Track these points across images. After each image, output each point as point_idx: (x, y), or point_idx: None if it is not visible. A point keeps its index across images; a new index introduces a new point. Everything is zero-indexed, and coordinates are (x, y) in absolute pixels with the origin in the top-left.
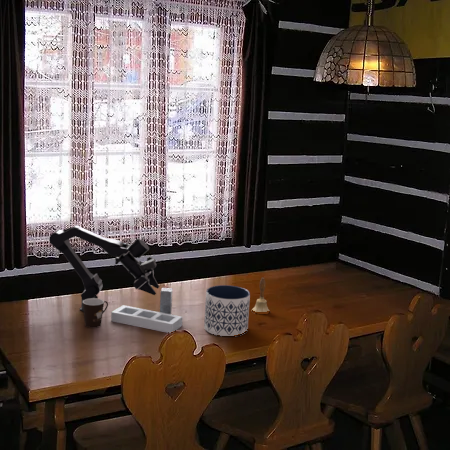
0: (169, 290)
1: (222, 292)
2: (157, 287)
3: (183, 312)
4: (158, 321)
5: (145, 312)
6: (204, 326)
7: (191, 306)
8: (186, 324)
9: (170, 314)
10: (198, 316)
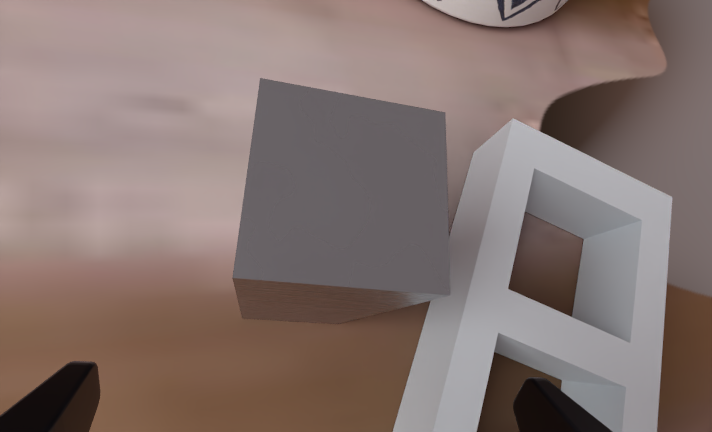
0: (395, 136)
1: None
2: (93, 405)
3: (188, 125)
4: (664, 304)
5: None
6: (508, 19)
7: (12, 48)
8: None
9: (493, 209)
10: (274, 31)
